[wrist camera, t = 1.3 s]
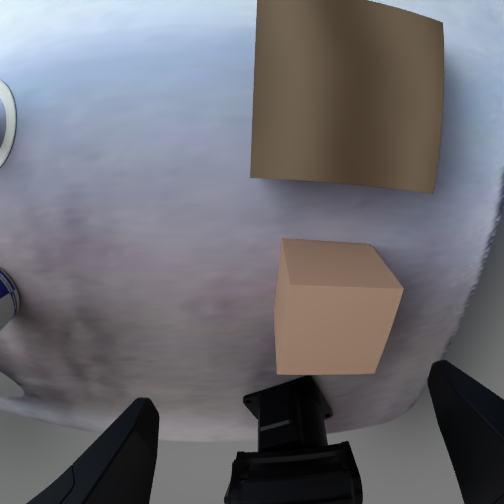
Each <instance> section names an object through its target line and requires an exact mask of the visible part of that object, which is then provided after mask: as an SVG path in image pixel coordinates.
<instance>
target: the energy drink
mask: <svg viewBox="0 0 504 504" xmlns="http://www.w3.org/2000/svg"><path fill="white" fill-rule="evenodd" d="M18 310H19V295H18V292H17V289H16V287H15V285H14V283H13V281H12V280H11V278H10V277H9V276H8V275H7V274H6V273H5V272H4V271H3V270H1V269H0V331H1V329H2V328H3V327H4V326H5V325H6V324H7V323H8V322H9V321H10V320H11V319H12V318H13V317H14V316H15V315H16V313H17V312H18Z"/></svg>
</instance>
